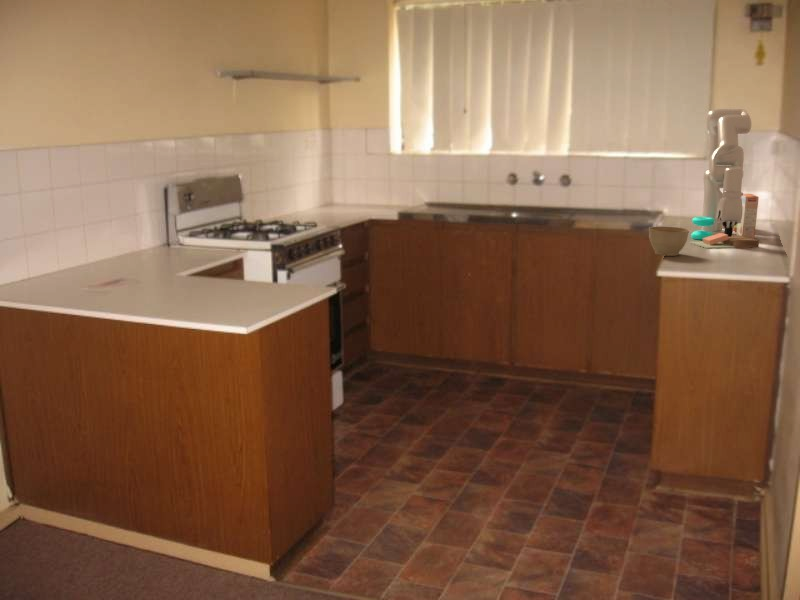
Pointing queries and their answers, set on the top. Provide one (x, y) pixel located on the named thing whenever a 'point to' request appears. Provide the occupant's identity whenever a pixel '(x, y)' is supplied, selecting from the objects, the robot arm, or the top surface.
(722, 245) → the sage mat
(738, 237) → the board
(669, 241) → the planter bowl
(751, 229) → the cracker box
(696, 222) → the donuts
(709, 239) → the coral block
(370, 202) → the top surface
